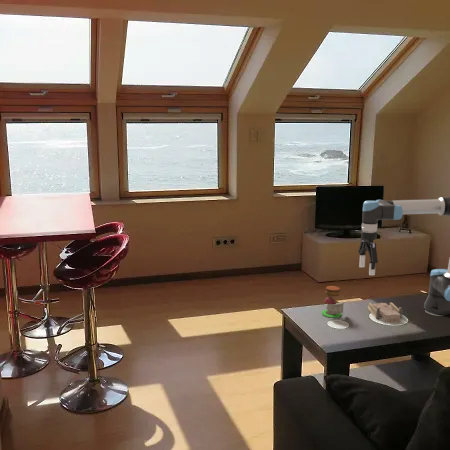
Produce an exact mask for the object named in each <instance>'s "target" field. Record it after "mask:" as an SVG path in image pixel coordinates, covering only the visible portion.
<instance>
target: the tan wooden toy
mask: <svg viewBox="0 0 450 450" xmlns="http://www.w3.org/2000/svg"><path fill="white" fill-rule="evenodd" d="M372 304H373V303H371V302H368V303H367V311H368V312H369V313H370V312H371V313H370V314H371V315H372V316H373V317H374V318H375V320H380V317H379V313H380V308H377V309H376V308H375V307H374V306H373V305H372ZM388 305H389V306H390V307H391V308H392V309H393V310H395V311H396V312H398V313H399V314H400V315H401V316H400V318H401V319H402V314H403V307H401V306H399V307H397V306H396V305H395V304H394V303H393V302H389V304H388Z"/></svg>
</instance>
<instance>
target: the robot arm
mask: <svg viewBox="0 0 450 450" xmlns="http://www.w3.org/2000/svg"><path fill="white" fill-rule="evenodd" d="M361 211H362V217H361V219H362V222H361V234H360V235H361V236H360V244H359V248H358V254H359V262H358V263H359V265H358V268H365V267H366V255H367V254H366V252H368V256H369V260H370V261H369V268H368V275H369V276H375V275H376V264H377V263H379V259H378V253H377V243H376V242H374V241H375V240H377V234H378V232H377V231H378V224H379V223H378V221H382V220H383V221H388V220H389V221H395V220H401V219H402V218H403V215H427V214H429V215H430V214H431V215H432V214H435V215H436V214H438V216H448V217H450V196H444V197H442V196H441V197H440V196H439V197H438V198H436V199H401V200H400V199H399V200H397V199H396V200H383V199H376V200H365V201H364V202H363V204H362V210H361ZM447 266H448V267H447V269H446V268H435V269H432V270H431V271H430V274H429V286H428V288H429V289H428V296H427V298H426V300H425V301H424V304H423V308H424V310H425V309H426V310H425V311H427V312H430V313H432V314H435V313H437V314H436V315H443V314H446V315H450V258H448V265H447Z"/></svg>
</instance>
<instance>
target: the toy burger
mask: <svg viewBox="0 0 450 450" xmlns="http://www.w3.org/2000/svg"><path fill="white" fill-rule="evenodd" d="M340 292H341V288H340V287H339V286H336V285H327V286H326V287H325V295H326V296H327V297H325V299H324V300H323V302H324V303H325V304H326V305H327V306H326V309H323V310H322V311H321V315H322V316H324V317H326V318H331V319H332V318H333V319H335V318H341V316H342V313H344V304H345V303H344V302H345V301H344V302H342V303H339V304H337V302H336V300H335V299H334V298H333V297H338V296H340V294H341V293H340Z"/></svg>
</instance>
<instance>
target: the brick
mask: <svg viewBox="0 0 450 450" xmlns="http://www.w3.org/2000/svg"><path fill="white" fill-rule="evenodd" d="M371 304H372V305H373V306H374V307H375V308H376V309H377V308H380V313H379V319H382V321H385V322H386V323H399V322H401V319H402V316H401V315H400V314H399V313H398V312H396V311H395V310H393V309H392V308H391V307H390V306H389V305H390V304H388V303H386V302H378V303H371ZM400 316H401V318H400Z"/></svg>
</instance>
